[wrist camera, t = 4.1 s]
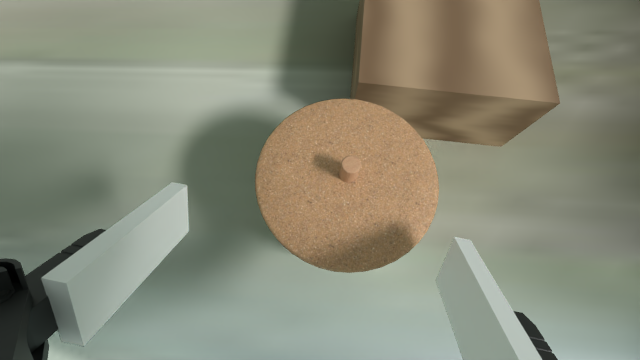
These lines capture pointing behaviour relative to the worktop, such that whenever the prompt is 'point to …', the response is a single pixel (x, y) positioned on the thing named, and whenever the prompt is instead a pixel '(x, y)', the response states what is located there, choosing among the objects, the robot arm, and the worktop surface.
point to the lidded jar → (346, 185)
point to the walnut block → (455, 66)
